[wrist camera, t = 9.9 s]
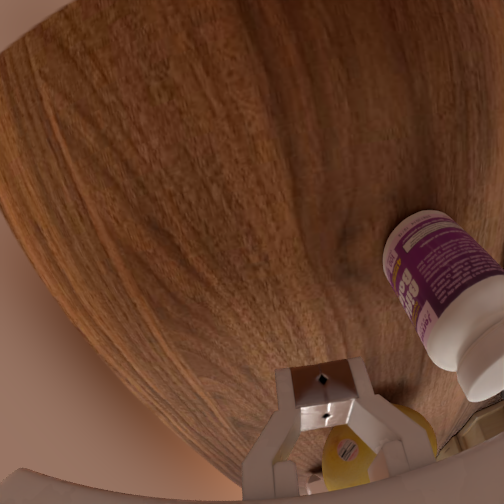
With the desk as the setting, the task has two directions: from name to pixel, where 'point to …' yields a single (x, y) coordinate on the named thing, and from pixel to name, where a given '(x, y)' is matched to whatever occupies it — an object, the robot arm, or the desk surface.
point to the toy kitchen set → (476, 430)
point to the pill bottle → (451, 298)
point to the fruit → (357, 453)
